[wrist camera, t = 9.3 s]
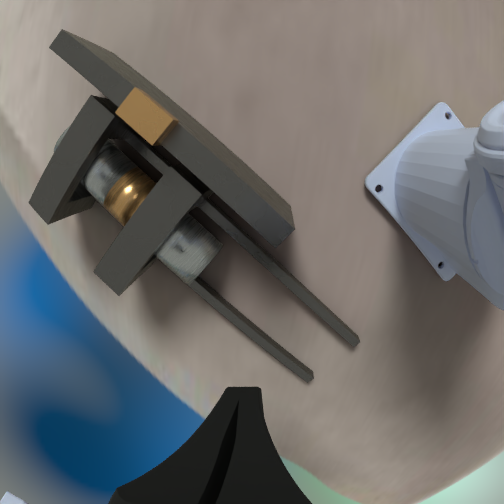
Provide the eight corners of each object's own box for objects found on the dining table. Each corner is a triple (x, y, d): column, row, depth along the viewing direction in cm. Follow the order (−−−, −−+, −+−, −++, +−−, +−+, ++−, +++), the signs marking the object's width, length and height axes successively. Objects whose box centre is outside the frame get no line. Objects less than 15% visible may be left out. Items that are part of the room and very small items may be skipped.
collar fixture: (391, 306, 21) (426, 363, 14) (295, 384, 24) (297, 451, 17) (113, 51, 17) (54, 24, 11) (42, 157, 20) (-23, 167, 13)
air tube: (230, 236, 19) (203, 270, 17) (206, 259, 22) (180, 292, 19) (95, 112, 18) (57, 131, 15) (85, 146, 20) (51, 166, 18)
